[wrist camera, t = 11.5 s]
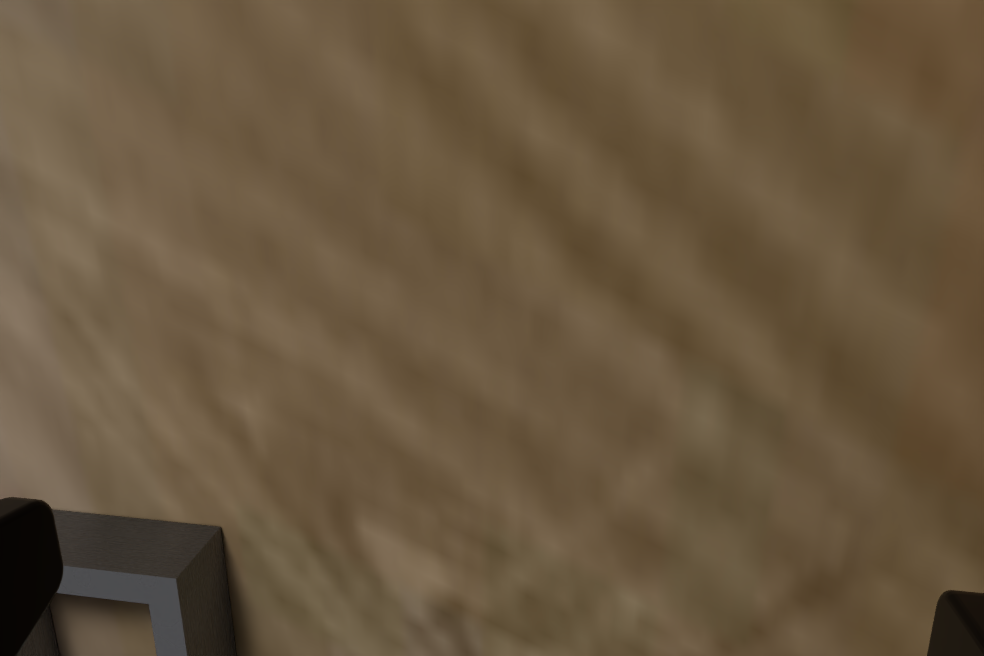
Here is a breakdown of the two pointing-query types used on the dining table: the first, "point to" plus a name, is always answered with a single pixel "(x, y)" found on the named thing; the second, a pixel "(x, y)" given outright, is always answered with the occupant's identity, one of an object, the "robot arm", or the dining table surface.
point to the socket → (146, 579)
